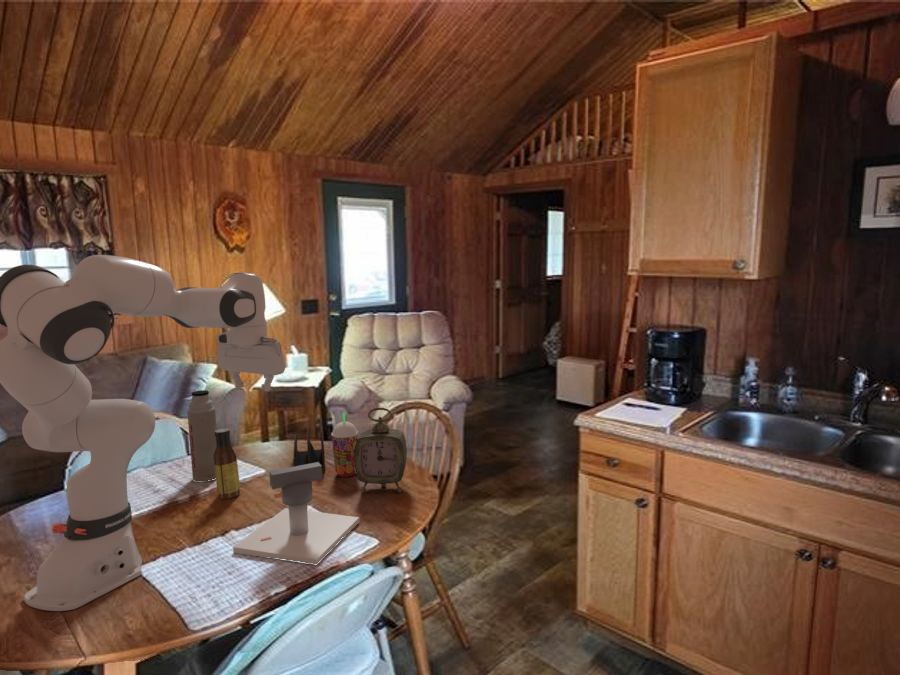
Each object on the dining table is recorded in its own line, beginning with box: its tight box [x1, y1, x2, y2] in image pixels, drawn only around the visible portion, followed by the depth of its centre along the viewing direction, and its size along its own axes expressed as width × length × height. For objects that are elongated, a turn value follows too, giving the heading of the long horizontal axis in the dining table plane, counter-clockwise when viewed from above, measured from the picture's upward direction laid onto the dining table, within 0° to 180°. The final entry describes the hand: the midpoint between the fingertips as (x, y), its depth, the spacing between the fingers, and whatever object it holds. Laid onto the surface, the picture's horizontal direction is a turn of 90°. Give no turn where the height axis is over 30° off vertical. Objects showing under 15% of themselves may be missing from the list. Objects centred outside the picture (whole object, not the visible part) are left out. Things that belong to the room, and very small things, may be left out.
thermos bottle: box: [186, 389, 218, 482], centre depth 181 cm, size 8×8×28 cm
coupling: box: [268, 462, 323, 507], centre depth 141 cm, size 12×7×8 cm, turn 119°
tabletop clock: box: [354, 407, 408, 493], centre depth 170 cm, size 14×9×25 cm, turn 88°
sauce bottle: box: [214, 427, 241, 500], centre depth 168 cm, size 7×6×20 cm
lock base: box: [232, 503, 360, 564], centre depth 143 cm, size 22×22×10 cm
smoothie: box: [330, 412, 359, 478], centre depth 183 cm, size 8×8×20 cm
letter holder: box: [293, 416, 326, 473], centre depth 194 cm, size 10×20×14 cm, turn 13°
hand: (252, 389), depth 150 cm, fingers open, 8 cm apart
